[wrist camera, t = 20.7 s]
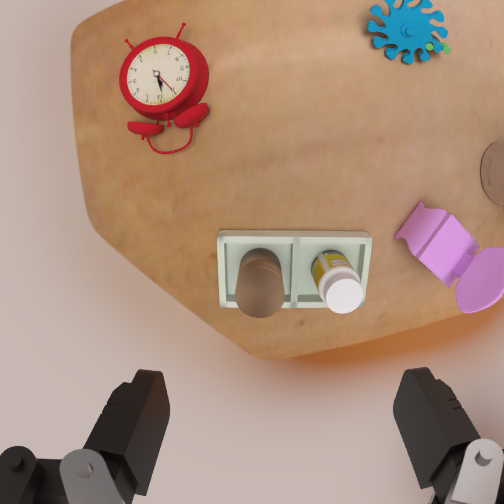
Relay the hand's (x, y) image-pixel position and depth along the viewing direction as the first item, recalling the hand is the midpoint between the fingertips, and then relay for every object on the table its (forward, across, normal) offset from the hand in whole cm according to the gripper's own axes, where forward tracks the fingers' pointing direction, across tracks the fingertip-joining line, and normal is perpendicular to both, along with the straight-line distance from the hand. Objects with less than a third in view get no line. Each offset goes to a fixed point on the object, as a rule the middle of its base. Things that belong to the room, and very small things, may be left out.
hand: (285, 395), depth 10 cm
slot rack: (+30, -3, +7) cm, 31 cm away
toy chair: (+30, -21, +3) cm, 37 cm away
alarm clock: (+31, +12, -15) cm, 36 cm away
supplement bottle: (+30, -7, +7) cm, 31 cm away
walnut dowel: (+29, +1, +7) cm, 30 cm away
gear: (+30, -17, -23) cm, 42 cm away
